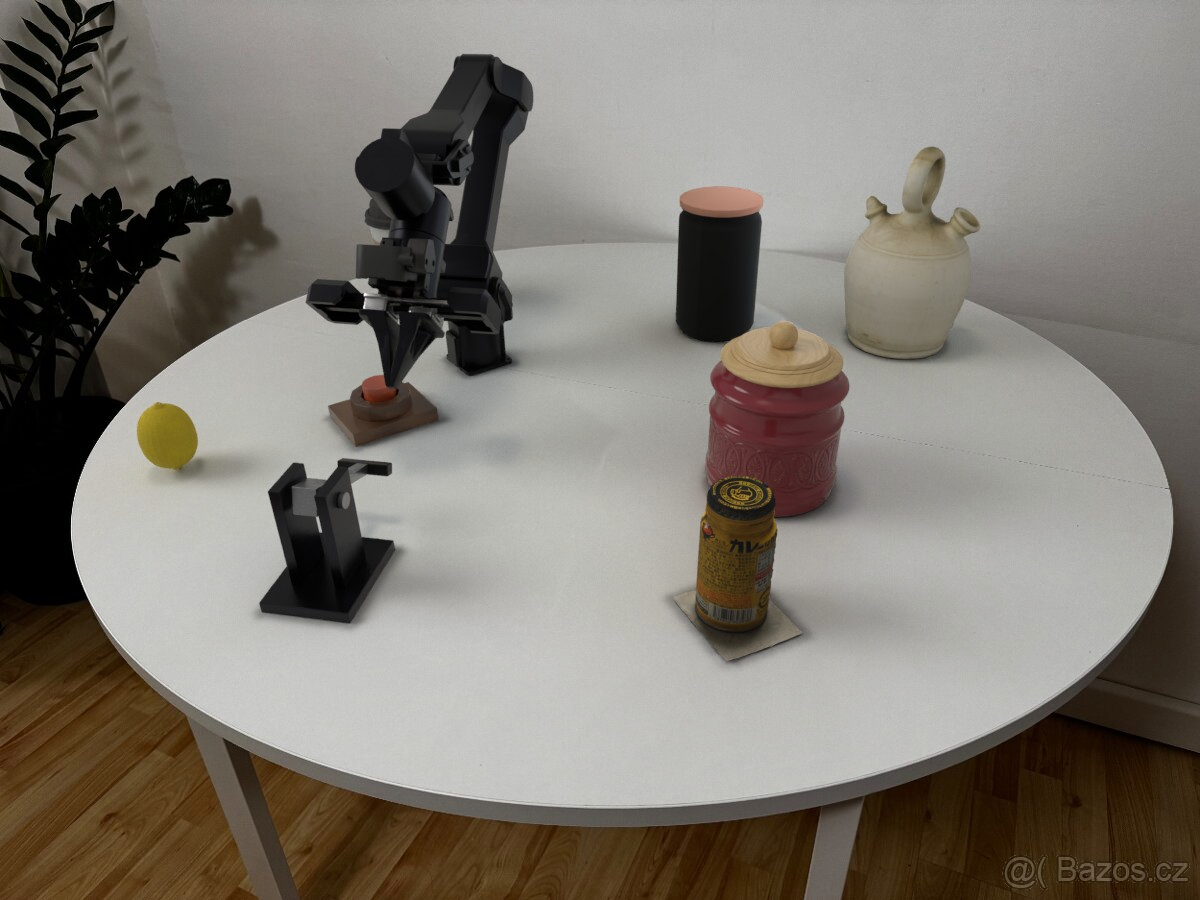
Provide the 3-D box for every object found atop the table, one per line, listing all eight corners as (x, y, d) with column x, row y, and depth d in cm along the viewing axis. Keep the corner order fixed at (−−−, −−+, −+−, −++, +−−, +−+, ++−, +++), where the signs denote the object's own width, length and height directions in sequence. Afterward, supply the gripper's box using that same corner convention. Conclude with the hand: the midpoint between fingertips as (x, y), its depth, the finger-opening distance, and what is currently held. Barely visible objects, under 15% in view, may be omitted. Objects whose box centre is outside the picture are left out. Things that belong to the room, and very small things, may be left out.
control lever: (342, 475, 85) (342, 451, 84) (392, 480, 84) (392, 455, 84) (276, 513, 74) (275, 485, 73) (333, 519, 73) (332, 490, 72)
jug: (981, 345, 117) (1026, 149, 104) (902, 377, 110) (940, 171, 97) (888, 307, 128) (919, 126, 115) (811, 334, 121) (834, 144, 107)
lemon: (186, 486, 92) (165, 419, 88) (138, 480, 93) (115, 414, 89) (216, 457, 96) (197, 392, 92) (170, 452, 97) (149, 388, 93)
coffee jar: (765, 322, 124) (777, 193, 115) (732, 351, 117) (742, 215, 107) (697, 307, 129) (702, 181, 120) (661, 333, 122) (664, 202, 112)
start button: (389, 385, 103) (386, 371, 102) (401, 397, 101) (399, 383, 100) (359, 394, 102) (356, 380, 101) (371, 406, 99) (369, 392, 98)
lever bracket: (315, 541, 84) (292, 443, 78) (395, 550, 82) (378, 451, 77) (261, 613, 75) (231, 509, 70) (350, 624, 74) (327, 520, 68)
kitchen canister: (823, 531, 84) (848, 362, 74) (689, 505, 88) (697, 341, 78) (841, 460, 94) (866, 304, 85) (721, 439, 98) (731, 288, 89)
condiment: (743, 574, 79) (754, 459, 72) (802, 634, 72) (819, 515, 66) (671, 599, 76) (676, 483, 70) (726, 664, 70) (736, 542, 63)
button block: (410, 394, 108) (406, 368, 106) (439, 421, 102) (435, 394, 101) (330, 418, 103) (324, 391, 102) (355, 448, 98) (350, 420, 96)
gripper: (294, 199, 85) (262, 355, 82) (483, 207, 82) (457, 369, 79) (344, 250, 96) (317, 389, 93) (511, 259, 93) (490, 403, 90)
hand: (391, 388), depth 88 cm, fingers closed
